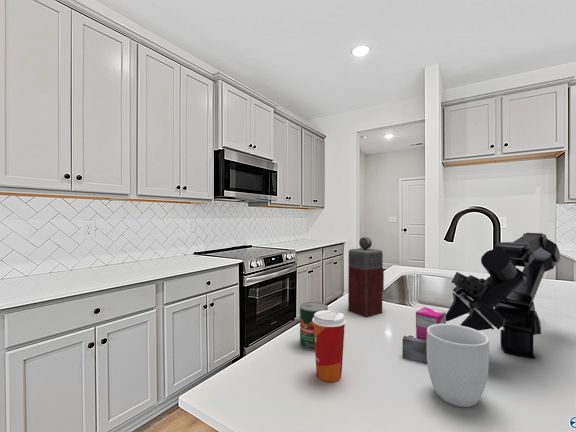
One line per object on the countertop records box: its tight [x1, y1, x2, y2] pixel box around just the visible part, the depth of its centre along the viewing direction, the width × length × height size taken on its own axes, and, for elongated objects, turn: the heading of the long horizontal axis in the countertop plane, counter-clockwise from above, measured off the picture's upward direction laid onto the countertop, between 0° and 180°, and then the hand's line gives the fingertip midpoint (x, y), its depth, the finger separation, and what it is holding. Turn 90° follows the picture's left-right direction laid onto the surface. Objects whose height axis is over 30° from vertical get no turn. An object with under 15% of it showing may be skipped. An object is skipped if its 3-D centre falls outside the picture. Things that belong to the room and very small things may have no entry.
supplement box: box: [415, 306, 447, 340], centre depth 80 cm, size 6×6×12 cm
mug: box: [426, 323, 490, 408], centre depth 63 cm, size 15×11×13 cm
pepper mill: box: [347, 236, 385, 319], centre depth 114 cm, size 9×11×28 cm
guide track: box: [401, 335, 427, 364], centre depth 79 cm, size 12×10×5 cm
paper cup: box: [312, 309, 347, 383], centre depth 69 cm, size 8×8×14 cm
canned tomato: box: [299, 301, 329, 352], centre depth 85 cm, size 8×8×11 cm
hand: (450, 326), depth 79 cm, fingers open, 9 cm apart
